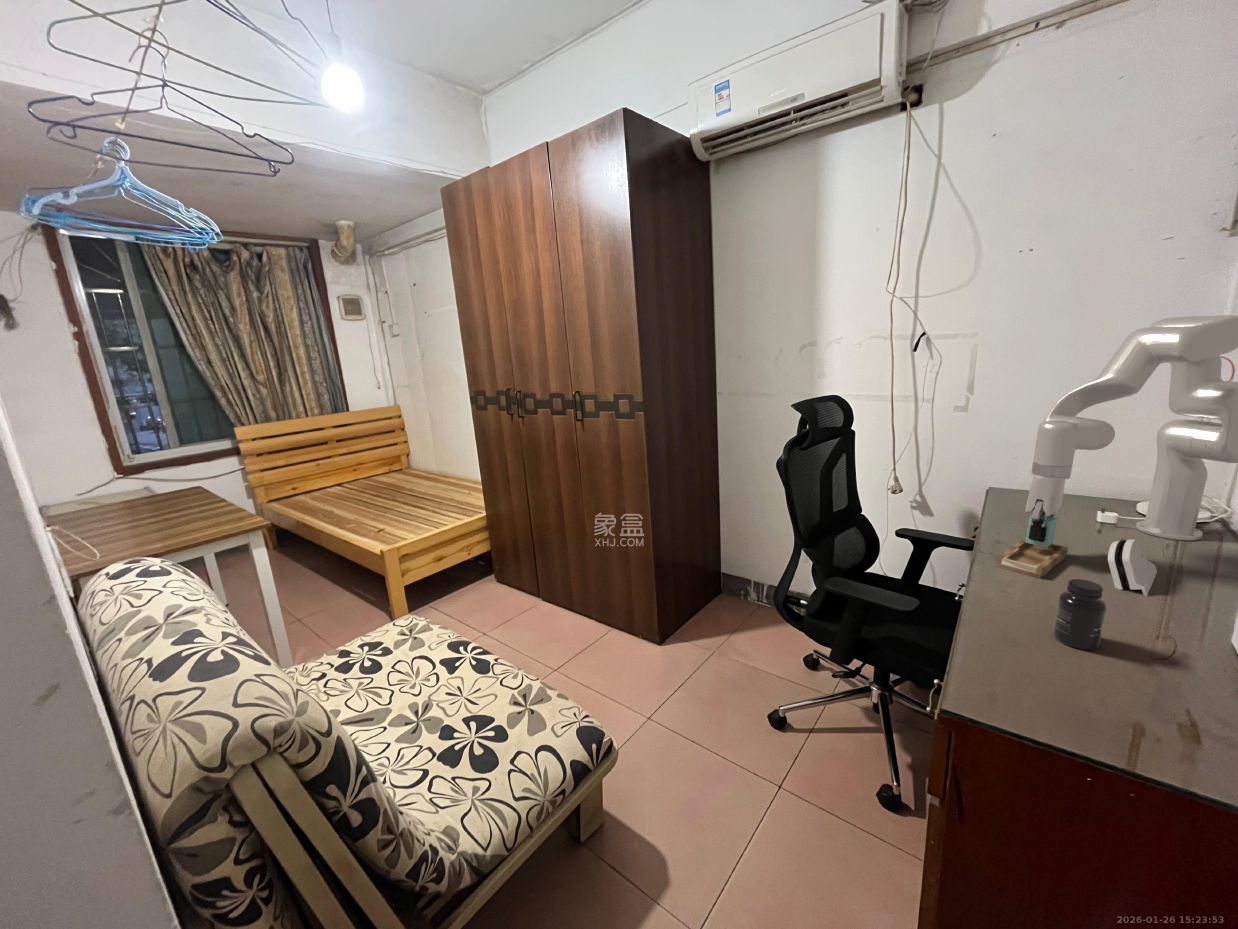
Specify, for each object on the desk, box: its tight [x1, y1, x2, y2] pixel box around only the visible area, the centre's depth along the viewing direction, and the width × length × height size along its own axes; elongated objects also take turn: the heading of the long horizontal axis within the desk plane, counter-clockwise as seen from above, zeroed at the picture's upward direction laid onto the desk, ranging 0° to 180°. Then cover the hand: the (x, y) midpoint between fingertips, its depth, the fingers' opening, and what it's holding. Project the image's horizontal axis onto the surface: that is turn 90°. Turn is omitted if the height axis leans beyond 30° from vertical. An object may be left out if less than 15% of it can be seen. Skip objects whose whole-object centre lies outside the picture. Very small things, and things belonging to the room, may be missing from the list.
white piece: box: [1107, 538, 1158, 597], centre depth 117 cm, size 17×5×10 cm, turn 129°
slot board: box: [995, 537, 1069, 579], centre depth 129 cm, size 19×9×2 cm, turn 125°
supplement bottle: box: [1052, 578, 1108, 651], centre depth 96 cm, size 7×7×12 cm
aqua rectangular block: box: [1025, 515, 1058, 548], centre depth 129 cm, size 4×4×7 cm
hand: (1040, 537), depth 130 cm, fingers closed on aqua rectangular block, 4 cm apart
